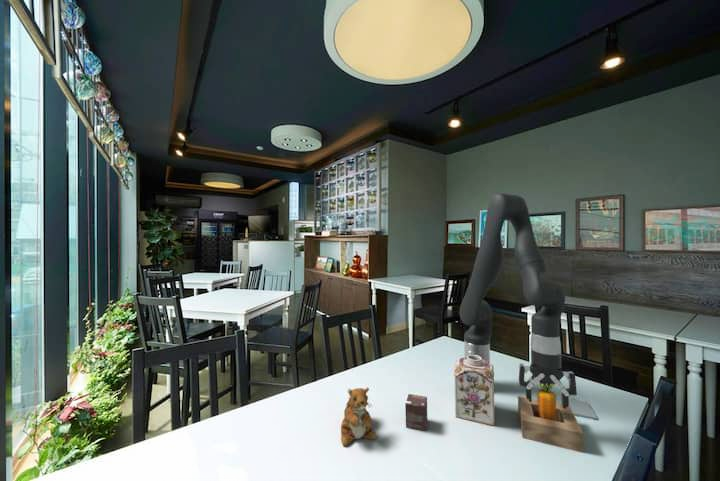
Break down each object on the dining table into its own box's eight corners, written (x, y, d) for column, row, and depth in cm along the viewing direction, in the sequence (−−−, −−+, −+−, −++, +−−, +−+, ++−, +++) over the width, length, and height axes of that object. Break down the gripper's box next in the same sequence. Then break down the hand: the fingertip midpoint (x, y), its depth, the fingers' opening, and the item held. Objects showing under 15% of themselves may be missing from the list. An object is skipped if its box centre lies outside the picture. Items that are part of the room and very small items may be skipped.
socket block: (522, 437, 80) (522, 419, 81) (518, 411, 93) (518, 396, 93) (583, 452, 75) (582, 433, 75) (570, 422, 87) (569, 406, 87)
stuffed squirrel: (342, 449, 77) (342, 399, 77) (337, 418, 91) (337, 376, 91) (378, 444, 78) (377, 396, 79) (367, 414, 92) (367, 373, 93)
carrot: (560, 436, 81) (559, 383, 81) (541, 434, 82) (540, 382, 82) (552, 425, 86) (551, 375, 86) (534, 423, 87) (533, 374, 87)
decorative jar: (494, 407, 96) (493, 353, 96) (495, 427, 85) (494, 367, 86) (457, 399, 101) (457, 348, 101) (453, 417, 90) (453, 360, 91)
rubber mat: (558, 412, 93) (558, 410, 93) (552, 397, 102) (552, 395, 102) (597, 419, 88) (597, 417, 88) (587, 403, 97) (587, 401, 97)
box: (427, 420, 89) (427, 396, 89) (425, 431, 83) (425, 406, 84) (408, 416, 91) (408, 393, 91) (405, 427, 85) (405, 403, 86)
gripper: (519, 349, 84) (520, 404, 84) (578, 357, 78) (579, 416, 78) (517, 341, 91) (518, 392, 90) (571, 348, 85) (572, 402, 84)
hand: (546, 403), depth 84 cm, fingers open, 8 cm apart
